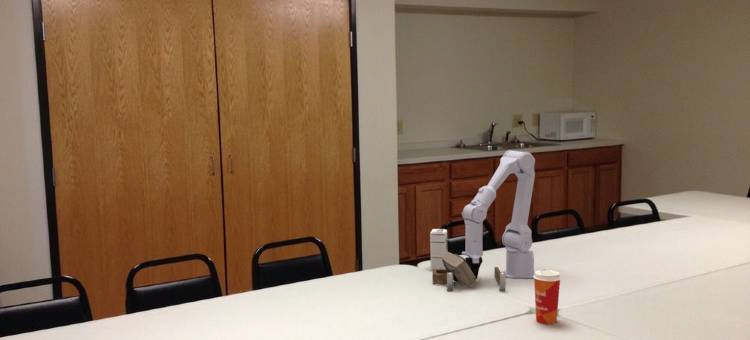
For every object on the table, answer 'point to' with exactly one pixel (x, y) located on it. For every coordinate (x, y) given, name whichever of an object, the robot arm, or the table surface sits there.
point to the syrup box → (438, 247)
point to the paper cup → (546, 295)
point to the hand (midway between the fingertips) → (473, 278)
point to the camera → (459, 269)
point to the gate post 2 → (502, 281)
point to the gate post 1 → (449, 281)
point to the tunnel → (441, 276)
